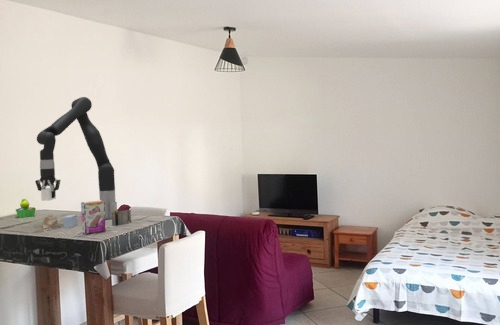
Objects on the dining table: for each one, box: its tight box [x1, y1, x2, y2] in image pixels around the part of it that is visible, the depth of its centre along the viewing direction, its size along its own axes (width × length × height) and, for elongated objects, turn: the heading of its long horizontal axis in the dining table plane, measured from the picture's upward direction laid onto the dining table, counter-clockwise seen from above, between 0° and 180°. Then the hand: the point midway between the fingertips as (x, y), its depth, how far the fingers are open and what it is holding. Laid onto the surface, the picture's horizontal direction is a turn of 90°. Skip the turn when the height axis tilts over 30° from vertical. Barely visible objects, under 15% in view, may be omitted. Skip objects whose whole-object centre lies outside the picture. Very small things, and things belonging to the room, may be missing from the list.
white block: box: [40, 187, 57, 202], centre depth 278 cm, size 4×8×6 cm, turn 177°
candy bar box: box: [80, 199, 106, 235], centre depth 260 cm, size 11×5×16 cm, turn 131°
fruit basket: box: [15, 198, 37, 219], centre depth 318 cm, size 11×9×11 cm
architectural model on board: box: [111, 208, 132, 227], centre depth 282 cm, size 11×3×10 cm, turn 143°
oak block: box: [42, 215, 58, 229], centre depth 279 cm, size 4×8×6 cm, turn 178°
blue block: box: [62, 214, 78, 229], centre depth 279 cm, size 4×8×6 cm, turn 178°
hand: (48, 197), depth 278 cm, fingers closed on white block, 4 cm apart
